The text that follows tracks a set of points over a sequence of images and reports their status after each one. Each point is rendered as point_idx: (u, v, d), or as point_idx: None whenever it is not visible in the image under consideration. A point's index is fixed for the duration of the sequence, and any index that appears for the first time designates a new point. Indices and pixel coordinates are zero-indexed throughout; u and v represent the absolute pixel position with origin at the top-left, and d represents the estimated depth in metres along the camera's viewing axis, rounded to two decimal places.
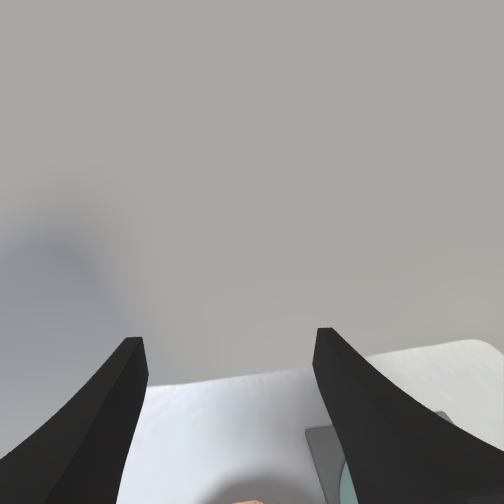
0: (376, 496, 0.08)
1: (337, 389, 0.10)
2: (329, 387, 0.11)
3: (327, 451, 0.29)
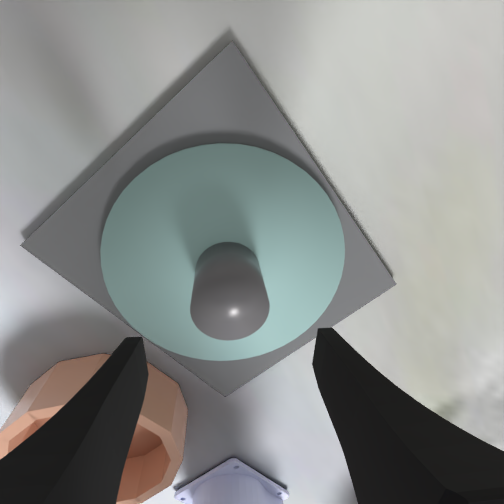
0: (376, 496, 0.08)
1: (337, 389, 0.10)
2: (329, 387, 0.11)
3: (72, 258, 0.18)
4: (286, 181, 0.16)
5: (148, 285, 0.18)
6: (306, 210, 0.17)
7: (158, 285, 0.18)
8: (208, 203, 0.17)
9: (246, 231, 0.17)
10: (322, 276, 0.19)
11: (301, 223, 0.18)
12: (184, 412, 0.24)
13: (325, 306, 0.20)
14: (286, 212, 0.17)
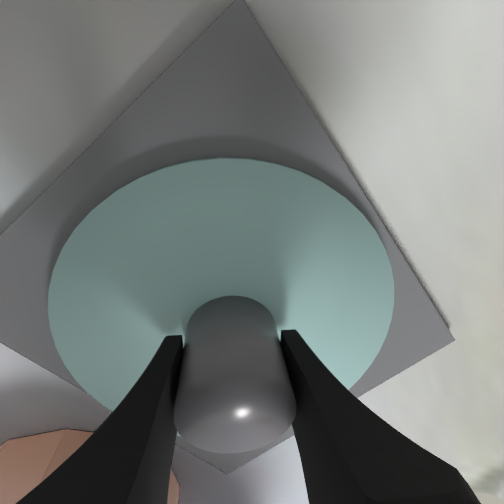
0: (322, 502, 0.08)
1: (295, 392, 0.10)
2: None
3: (11, 318, 0.12)
4: (317, 213, 0.11)
5: (119, 353, 0.13)
6: (344, 252, 0.12)
7: (135, 353, 0.13)
8: (203, 244, 0.11)
9: (258, 281, 0.12)
10: (360, 336, 0.14)
11: (336, 269, 0.12)
12: (174, 494, 0.19)
13: (362, 372, 0.15)
14: (315, 255, 0.12)
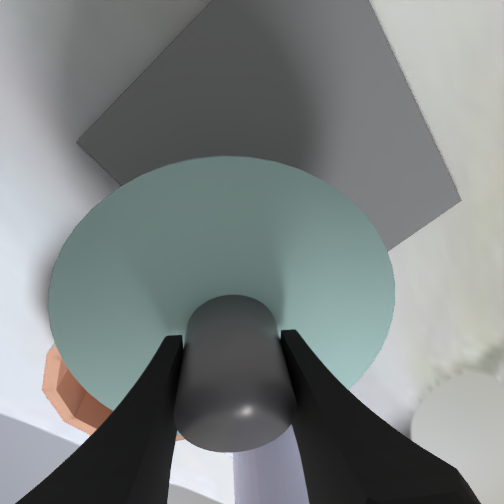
0: (322, 502, 0.08)
1: (295, 392, 0.10)
2: None
3: (129, 159, 0.17)
4: (318, 212, 0.11)
5: (119, 352, 0.13)
6: (345, 251, 0.12)
7: (135, 352, 0.13)
8: (204, 243, 0.11)
9: (259, 281, 0.12)
10: (361, 336, 0.14)
11: (337, 269, 0.12)
12: None
13: (362, 372, 0.15)
14: (316, 254, 0.12)
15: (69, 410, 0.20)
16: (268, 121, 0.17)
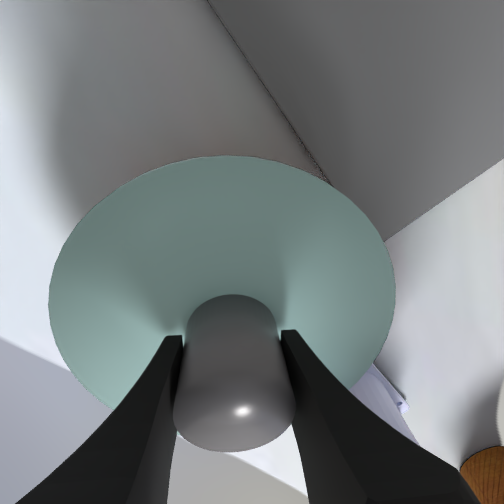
0: (322, 502, 0.08)
1: (295, 392, 0.10)
2: None
3: None
4: (320, 213, 0.11)
5: (119, 350, 0.13)
6: (346, 252, 0.12)
7: (134, 350, 0.13)
8: (205, 242, 0.11)
9: (259, 281, 0.12)
10: (361, 337, 0.14)
11: (338, 270, 0.12)
12: None
13: (361, 373, 0.15)
14: (317, 255, 0.12)
15: None
16: None
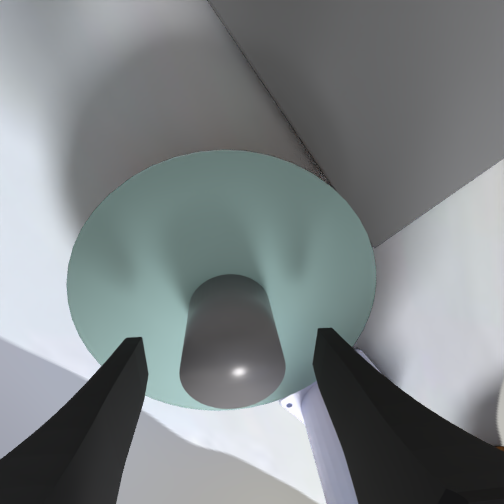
0: (376, 496, 0.08)
1: (337, 389, 0.10)
2: (329, 387, 0.11)
3: None
4: (307, 200, 0.13)
5: (128, 325, 0.15)
6: (331, 236, 0.14)
7: (142, 326, 0.15)
8: (206, 227, 0.13)
9: (254, 262, 0.14)
10: (346, 315, 0.16)
11: (324, 252, 0.14)
12: None
13: None
14: (305, 238, 0.13)
15: None
16: None
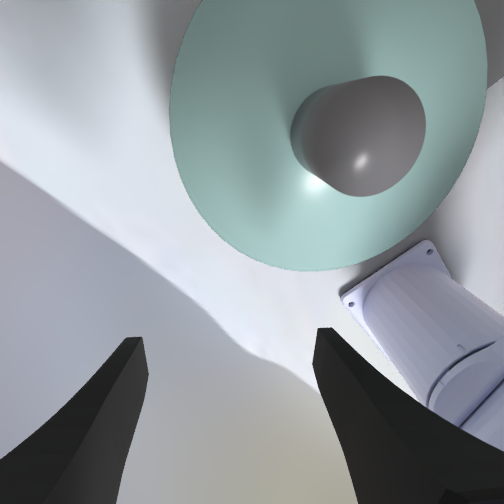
0: (376, 496, 0.08)
1: (337, 389, 0.10)
2: (329, 387, 0.11)
3: None
4: None
5: (226, 148, 0.14)
6: (448, 40, 0.13)
7: (240, 150, 0.14)
8: (323, 17, 0.12)
9: (366, 70, 0.13)
10: (447, 150, 0.15)
11: (437, 62, 0.13)
12: None
13: (442, 197, 0.16)
14: (422, 41, 0.13)
15: None
16: None
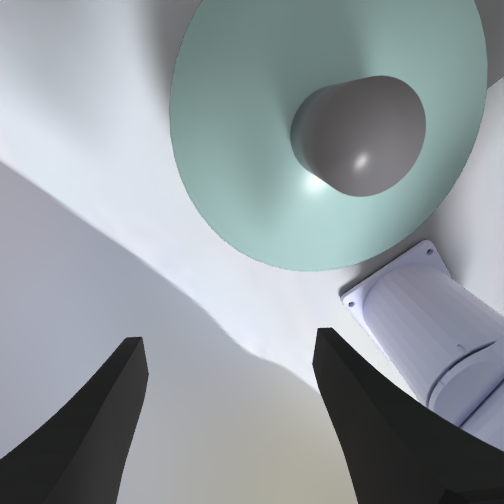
0: (376, 496, 0.08)
1: (337, 389, 0.10)
2: (329, 387, 0.11)
3: None
4: None
5: (226, 148, 0.14)
6: (448, 40, 0.13)
7: (240, 150, 0.14)
8: (323, 17, 0.12)
9: (366, 70, 0.13)
10: (447, 150, 0.15)
11: (437, 62, 0.13)
12: None
13: (442, 197, 0.16)
14: (422, 41, 0.13)
15: None
16: None
